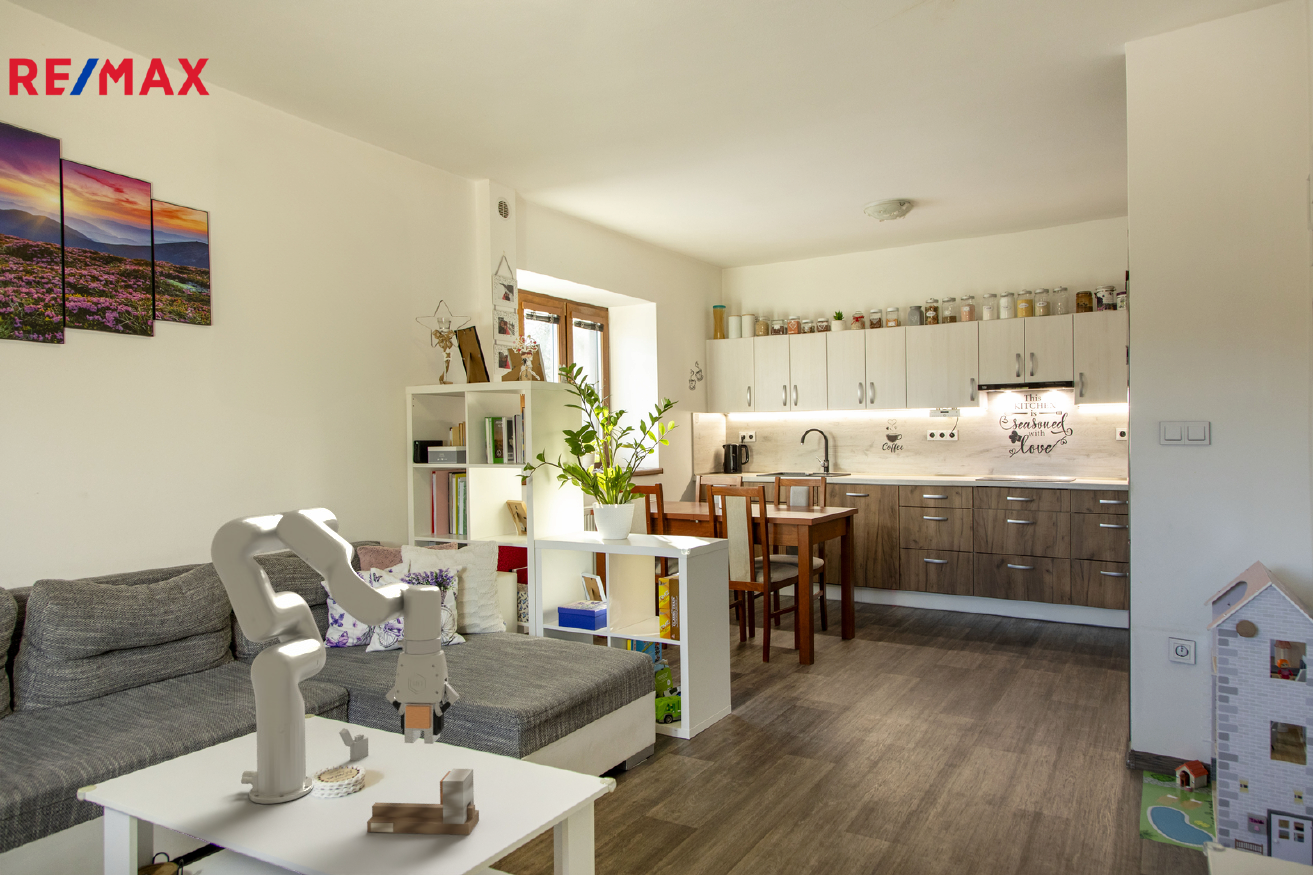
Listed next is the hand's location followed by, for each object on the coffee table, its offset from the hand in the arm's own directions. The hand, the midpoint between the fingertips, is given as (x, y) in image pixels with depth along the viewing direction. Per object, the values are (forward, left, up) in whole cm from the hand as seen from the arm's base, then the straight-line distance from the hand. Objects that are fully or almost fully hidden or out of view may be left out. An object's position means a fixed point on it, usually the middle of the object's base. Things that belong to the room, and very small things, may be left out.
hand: (422, 732), depth 171 cm
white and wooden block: (0, 0, -2) cm, 2 cm away
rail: (+4, -11, -14) cm, 19 cm away
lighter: (-26, +22, -15) cm, 37 cm away
